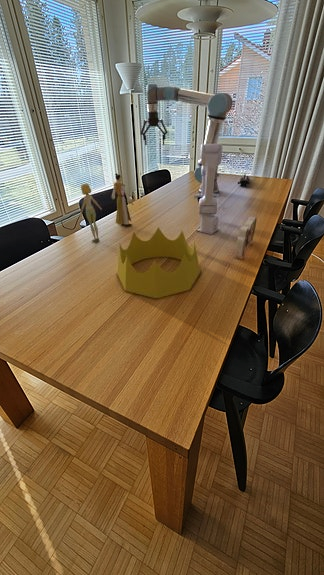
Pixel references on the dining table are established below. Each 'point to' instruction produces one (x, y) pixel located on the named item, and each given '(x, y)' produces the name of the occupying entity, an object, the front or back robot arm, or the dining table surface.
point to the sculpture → (90, 209)
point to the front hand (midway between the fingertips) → (205, 209)
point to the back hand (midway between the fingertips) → (154, 145)
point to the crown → (155, 278)
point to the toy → (244, 181)
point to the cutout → (245, 236)
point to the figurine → (121, 203)
